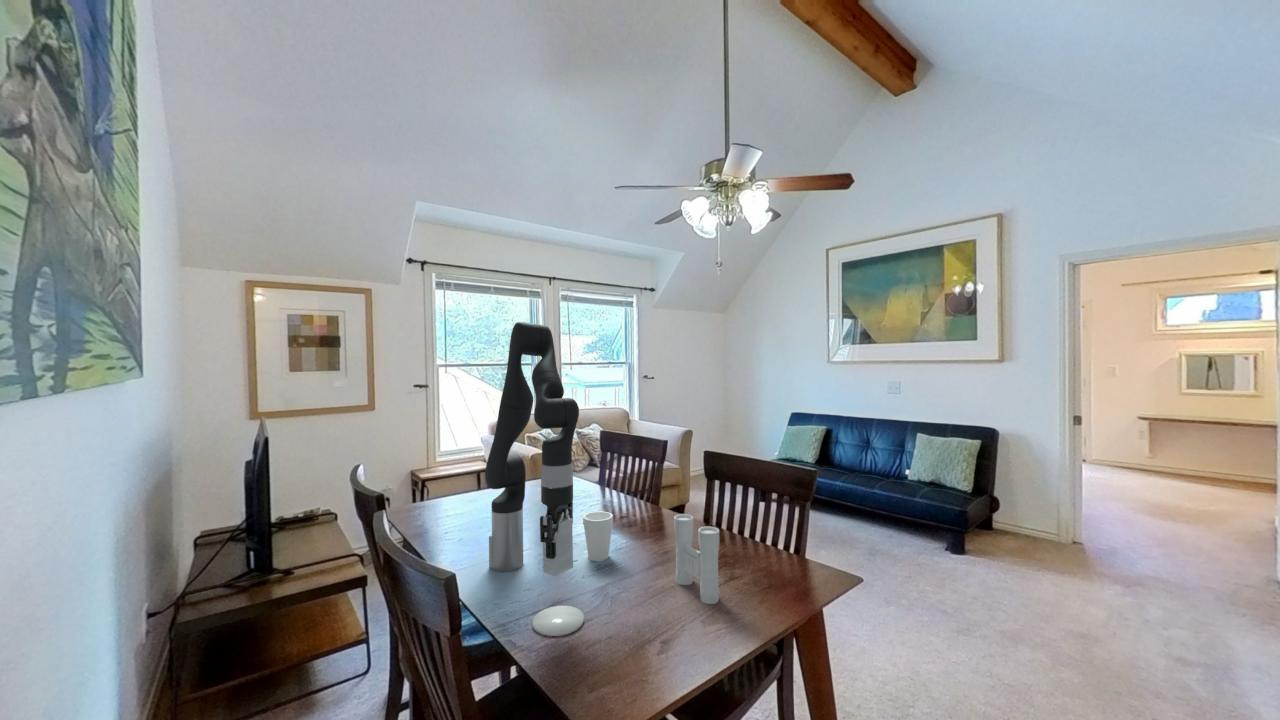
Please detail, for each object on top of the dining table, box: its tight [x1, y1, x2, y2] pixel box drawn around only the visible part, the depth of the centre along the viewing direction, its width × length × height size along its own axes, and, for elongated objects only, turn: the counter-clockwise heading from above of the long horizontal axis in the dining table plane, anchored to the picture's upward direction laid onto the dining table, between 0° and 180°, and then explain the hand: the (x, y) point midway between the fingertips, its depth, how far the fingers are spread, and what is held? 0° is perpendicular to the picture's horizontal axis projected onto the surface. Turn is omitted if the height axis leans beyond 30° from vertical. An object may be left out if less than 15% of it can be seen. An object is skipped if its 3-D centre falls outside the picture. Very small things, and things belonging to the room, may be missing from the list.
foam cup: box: [582, 510, 614, 562], centre depth 150 cm, size 10×9×13 cm
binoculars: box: [673, 513, 720, 605], centre depth 128 cm, size 17×5×18 cm, turn 28°
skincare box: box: [542, 518, 574, 577], centre depth 113 cm, size 6×4×12 cm
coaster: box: [532, 605, 585, 637], centre depth 113 cm, size 12×12×1 cm
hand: (557, 551), depth 113 cm, fingers closed on skincare box, 7 cm apart
